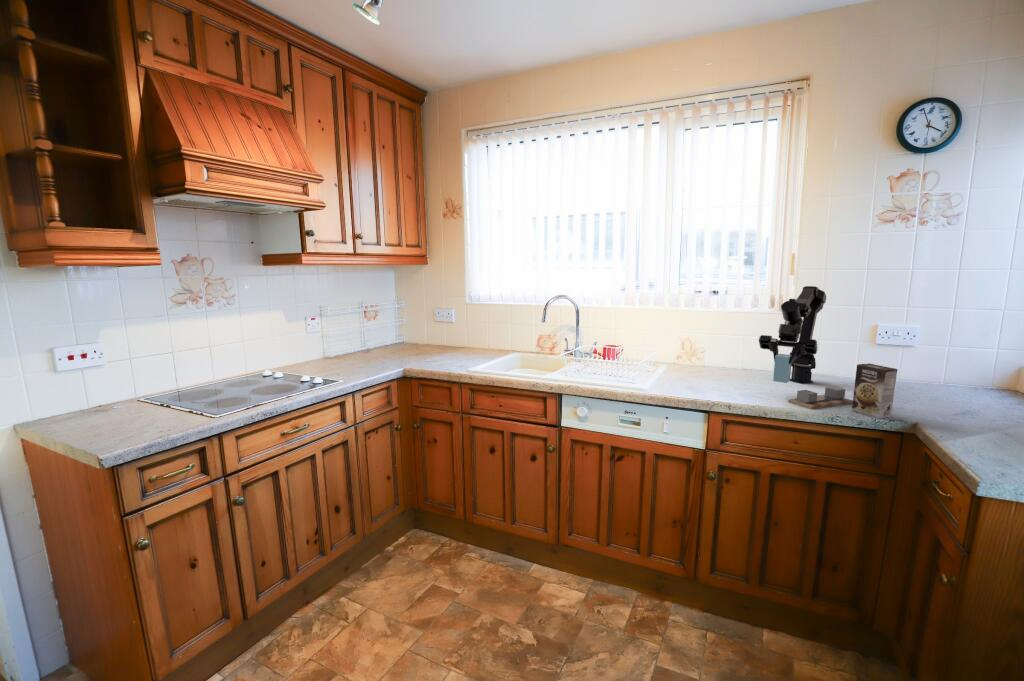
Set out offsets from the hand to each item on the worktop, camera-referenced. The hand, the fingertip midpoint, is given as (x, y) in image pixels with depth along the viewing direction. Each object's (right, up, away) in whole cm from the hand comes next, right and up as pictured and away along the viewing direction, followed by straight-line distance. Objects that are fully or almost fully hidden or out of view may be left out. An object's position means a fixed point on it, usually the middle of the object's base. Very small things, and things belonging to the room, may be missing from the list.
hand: (782, 362), depth 176 cm
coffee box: (+20, -16, -16) cm, 31 cm away
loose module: (+1, -7, +2) cm, 7 cm away
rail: (+12, -14, -4) cm, 19 cm away
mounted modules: (+12, -13, -4) cm, 18 cm away
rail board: (+12, -14, -4) cm, 19 cm away
